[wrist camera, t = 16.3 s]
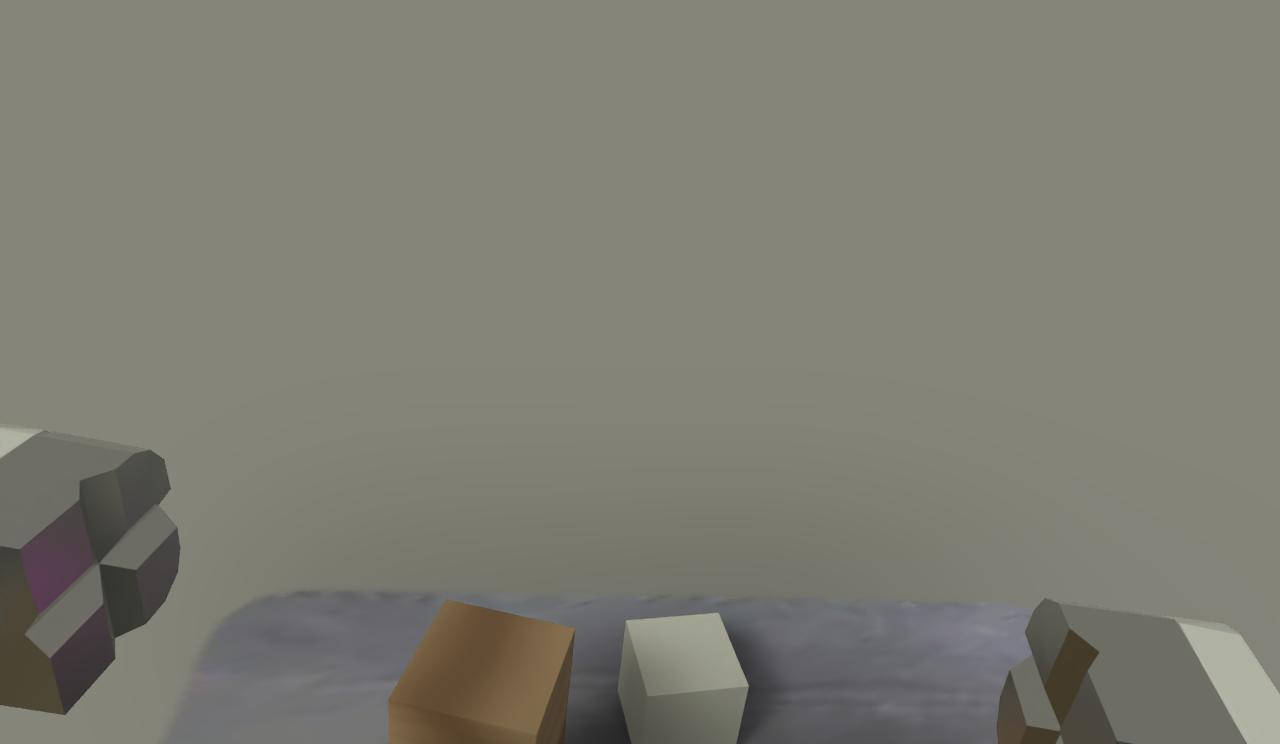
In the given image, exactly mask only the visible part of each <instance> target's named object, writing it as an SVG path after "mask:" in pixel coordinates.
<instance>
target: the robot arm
mask: <svg viewBox="0 0 1280 744" xmlns="http://www.w3.org/2000/svg"><path fill="white" fill-rule="evenodd" d="M170 489H171V488H170V483H169V479H168V475H167V469H166V465H165V460H164V459H163V458H162V457H160V456H159V455H157V454H156V453H154V452H153V451H151V450H149V449H143V448H138V447H132V446H127V445H122V444H117V443H111V442H106V441H101V440H96V439H90V438H85V437H80V436H74V435H69V434H64V433H58V432H48V431H45V430H40V429H34V428H28V427H23V426H17V425H10V424H0V705H4V706H10V707H16V708H22V709H29V710H35V711H42V712H48V713H54V714H61V715H66V713H67V712H68V711H69V710H70V709H71V708H72V707H73V706H74V704H75V703H76V702H77V701H78V700H79V699H80V698H81V696H82V695H83V694H84V693H85V692H86V691H87V689H89V688H90V687H91V685H92V684H93V683H94V682H95V681H96V680H97V678H98V677H99V676H100V675H101V674H102V673H103V672H104V671H105V670H106V669H107V667H108V666H109V665H110V664H111V663H112V662H113V661H114V660H115V638H116V637H118V636H120V635H122V634H125V633H127V632H129V631H131V630H133V629H135V628H138V627H140V626H142V625H144V624H146V623H147V622H148V621H149V620H150V618H151V617H152V616H153V615H154V614H155V613H156V611H157V610H158V609H159V608H160V607H161V605H162V604H163V603H164V602H165V600H166V598H167V596H168V593H169V591H170V589H171V586H172V584H173V582H174V580H175V577H176V575H177V573H178V565H179V555H180V543H179V536H178V529H177V527H176V525H175V524H174V523H173V522H172V521H171V519H170V518H169V517H168V516H167V515H166V513H165V512H164V511H163V510H162V509H161V507H160V506H159V504H160V503H161V501H162V500H163V499H164V497H165V496H166V494H167V493H168V492H169V491H170ZM1025 634H1026V637H1027V640H1028V643H1029V646H1030V649H1031V651H1032V654H1033V655H1032V656H1030V657H1029V658H1027V659H1025V660H1024V661H1022V662H1021V663H1019V664H1017V665H1016V666H1014V667H1013V668H1011V669H1010V670H1009V673H1008V676H1007V679H1006V682H1005V685H1004V687H1003V690H1002V693H1001V696H1000V702H999V712H998V722H997V733H998V744H1280V694H1279V693H1278V691H1277V690H1276V688H1275V686H1274V685H1273V684H1272V682H1271V680H1270V679H1269V677H1268V676H1267V674H1266V673H1265V671H1264V670H1263V668H1262V667H1261V665H1260V664H1259V662H1258V661H1257V659H1256V658H1255V656H1254V655H1253V653H1252V652H1251V650H1250V649H1249V647H1248V645H1247V644H1246V642H1245V641H1244V640H1243V638H1242V636H1241V635H1240V634H1239V633H1237V632H1236V631H1235V630H1233V629H1232V628H1230V627H1229V626H1227V625H1226V624H1223V623H1216V622H1209V621H1201V620H1194V619H1187V618H1180V617H1172V616H1165V615H1164V616H1162V617H1158V616H1152V615H1147V614H1140V613H1134V612H1128V611H1122V610H1116V609H1109V608H1103V607H1097V606H1091V605H1084V604H1078V603H1072V602H1066V601H1060V600H1053V599H1046V598H1045V599H1044V600H1043V601H1042V602H1041V603H1040V604H1039V605H1038V606H1037V607H1036V609H1035V610H1034V611H1033V614H1032V616H1031V619H1030V621H1029V623H1028V626H1027V628H1026V630H1025Z"/></svg>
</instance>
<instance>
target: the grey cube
mask: <svg viewBox="0 0 1280 744" xmlns="http://www.w3.org/2000/svg"><path fill="white" fill-rule="evenodd" d="M748 688H749V685H748V683H747V680H746V678H745V675H744V673H743V671H742V668H741V666H740V663H739V661H738V659H737V656H736V654H735V651H734V649H733V647H732V644H731V642H730V639H729V637H728V635H727V632H726V630H725V627H724V625H723V622H722V620H721V618H720V615H719V613H712V614H700V615H687V616H675V617H663V618H651V619H639V620H626V626H625V634H624V642H623V650H622V658H621V666H620V674H619V682H618V693H619V697H620V701H621V705H622V709H623V713H624V717H625V721H626V725H627V729H628V733H629V736H630V740H631V744H736V743H737V738H738V734H739V729H740V725H741V720H742V715H743V711H744V706H745V702H746V697H747V692H748Z"/></svg>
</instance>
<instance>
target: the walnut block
mask: <svg viewBox="0 0 1280 744" xmlns="http://www.w3.org/2000/svg"><path fill="white" fill-rule="evenodd" d="M574 636H575V628H572V627H568V626H563V625H559V624H554V623H550V622H545V621H541V620H536V619H532V618H527V617H523V616H518V615H514V614H509V613H505V612H500V611H496V610H491V609H487V608H482V607H477V606H473V605H468V604H464V603H459V602H455V601H450V600H445V602H444V604H443V606H442V607H441V609H440V611H439V613H438V614H437V616H436V618H435V619H434V621H433V623H432V625H431V626H430V628H429V630H428V632H427V633H426V635H425V637H424V639H423V640H422V642H421V644H420V646H419V647H418V649H417V651H416V653H415V654H414V656H413V658H412V660H411V661H410V663H409V665H408V667H407V668H406V670H405V672H404V673H403V675H402V677H401V679H400V680H399V682H398V684H397V686H396V687H395V689H394V691H393V693H392V694H391V696H390V698H389V700H388V706H389V744H563V742H564V732H565V722H566V713H567V703H568V693H569V684H570V674H571V665H572V655H573V645H574Z"/></svg>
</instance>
